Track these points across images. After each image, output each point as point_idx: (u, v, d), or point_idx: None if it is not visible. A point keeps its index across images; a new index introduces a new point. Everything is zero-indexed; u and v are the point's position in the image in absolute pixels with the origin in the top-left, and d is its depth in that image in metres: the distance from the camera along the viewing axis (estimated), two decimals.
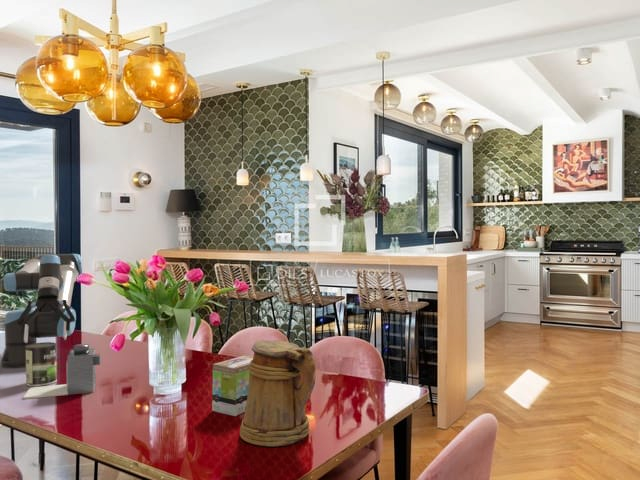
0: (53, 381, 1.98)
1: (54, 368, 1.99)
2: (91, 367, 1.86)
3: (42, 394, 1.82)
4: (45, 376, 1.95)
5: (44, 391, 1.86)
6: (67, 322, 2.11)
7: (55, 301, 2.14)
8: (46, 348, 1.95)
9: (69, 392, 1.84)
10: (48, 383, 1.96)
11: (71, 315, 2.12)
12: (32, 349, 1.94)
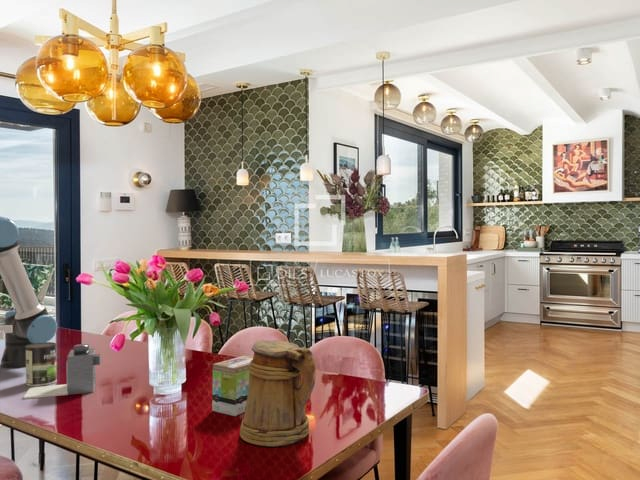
0: (53, 381, 1.98)
1: (54, 368, 1.99)
2: (91, 367, 1.86)
3: (42, 394, 1.82)
4: (45, 376, 1.95)
5: (44, 391, 1.86)
6: None
7: None
8: (46, 348, 1.95)
9: (69, 392, 1.84)
10: (48, 383, 1.96)
11: None
12: (32, 349, 1.94)
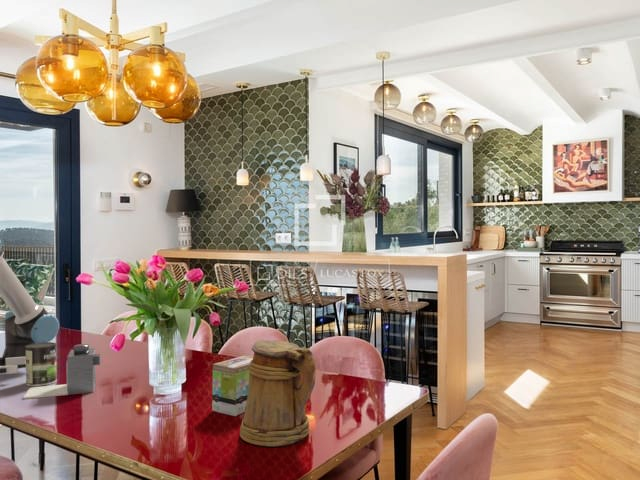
0: (53, 381, 1.98)
1: (54, 368, 1.99)
2: (91, 367, 1.86)
3: (42, 394, 1.82)
4: (45, 376, 1.95)
5: (44, 391, 1.86)
6: None
7: None
8: (46, 348, 1.95)
9: (69, 392, 1.84)
10: (48, 383, 1.96)
11: None
12: (32, 349, 1.94)
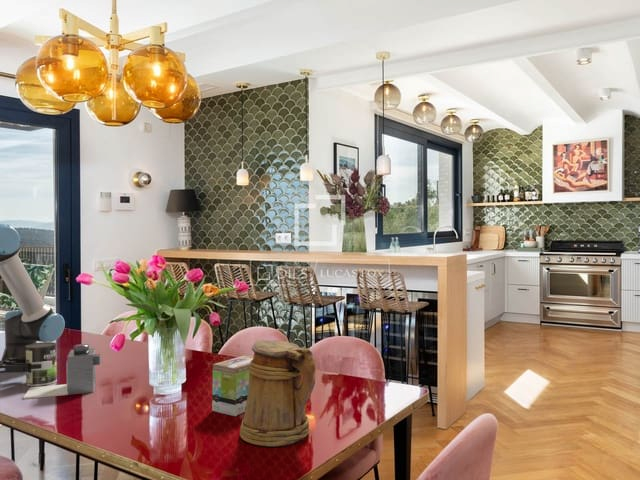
0: (53, 381, 1.98)
1: (54, 368, 1.99)
2: (91, 367, 1.86)
3: (42, 394, 1.82)
4: (45, 376, 1.95)
5: (44, 391, 1.86)
6: None
7: None
8: (46, 348, 1.95)
9: (69, 392, 1.84)
10: (48, 383, 1.96)
11: None
12: (32, 349, 1.94)
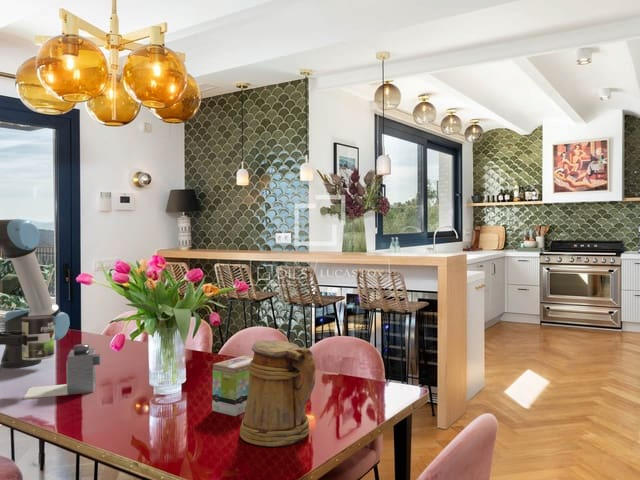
0: (50, 355, 1.86)
1: (52, 342, 1.87)
2: (91, 367, 1.86)
3: (42, 394, 1.82)
4: (42, 350, 1.84)
5: (44, 391, 1.86)
6: None
7: None
8: (43, 320, 1.84)
9: (69, 392, 1.84)
10: (45, 357, 1.84)
11: (18, 344, 1.79)
12: (28, 320, 1.82)
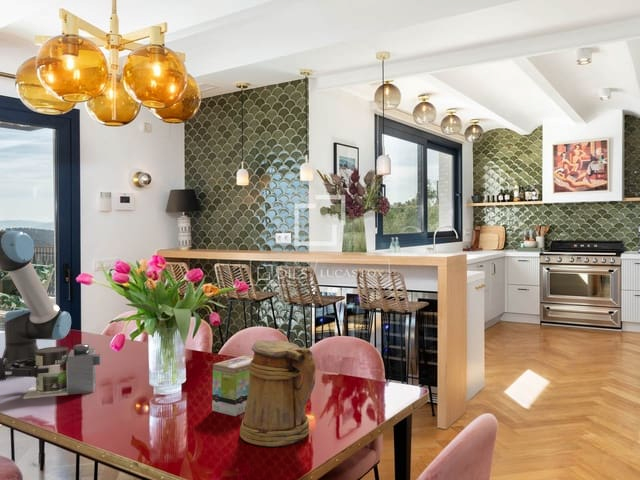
0: (65, 388, 1.87)
1: (66, 374, 1.87)
2: (91, 367, 1.86)
3: (42, 394, 1.82)
4: (57, 383, 1.84)
5: None
6: None
7: None
8: (57, 353, 1.84)
9: (69, 392, 1.84)
10: (59, 390, 1.85)
11: None
12: (43, 354, 1.82)
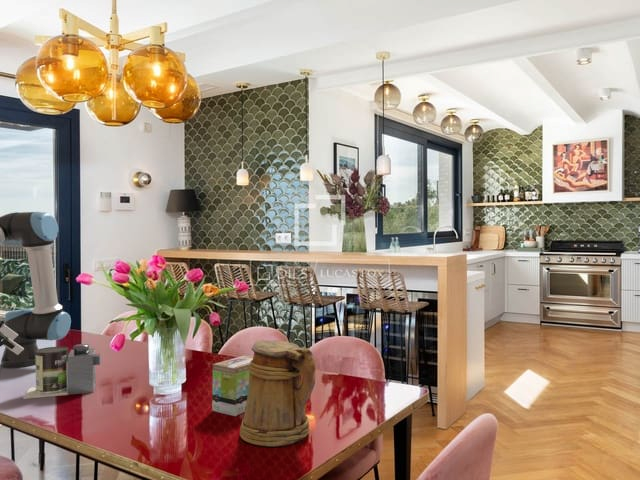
0: (65, 388, 1.87)
1: (65, 374, 1.87)
2: (91, 367, 1.86)
3: (42, 394, 1.82)
4: (57, 383, 1.84)
5: None
6: None
7: None
8: (57, 353, 1.84)
9: (69, 392, 1.84)
10: (59, 390, 1.85)
11: None
12: (42, 354, 1.82)
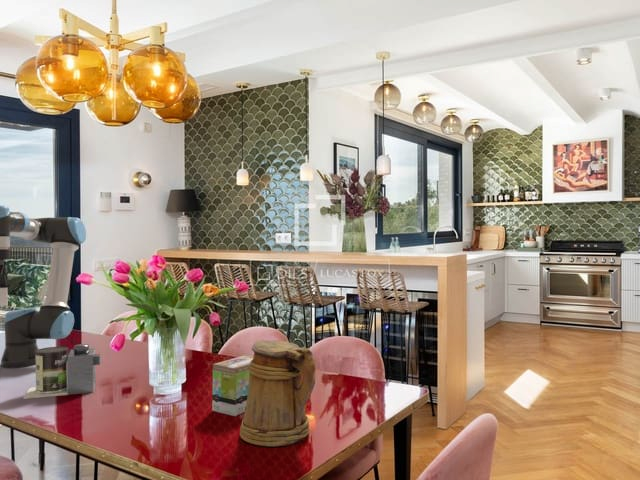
0: (65, 388, 1.87)
1: (66, 374, 1.87)
2: (91, 367, 1.86)
3: (42, 394, 1.82)
4: (57, 383, 1.84)
5: None
6: None
7: None
8: (57, 353, 1.84)
9: (69, 392, 1.84)
10: (59, 390, 1.85)
11: None
12: (43, 354, 1.82)
